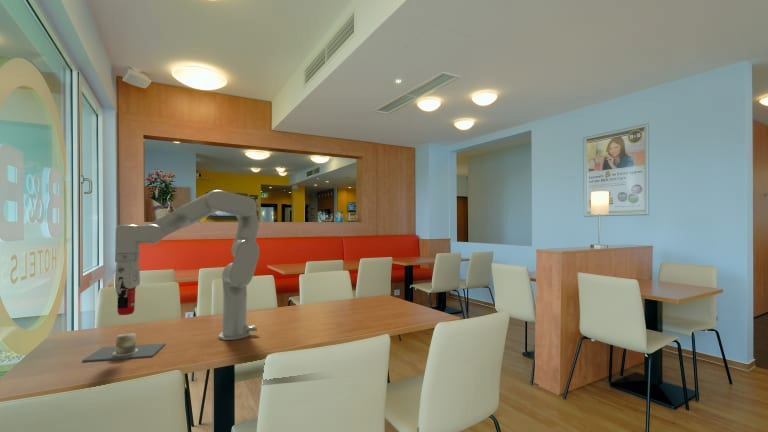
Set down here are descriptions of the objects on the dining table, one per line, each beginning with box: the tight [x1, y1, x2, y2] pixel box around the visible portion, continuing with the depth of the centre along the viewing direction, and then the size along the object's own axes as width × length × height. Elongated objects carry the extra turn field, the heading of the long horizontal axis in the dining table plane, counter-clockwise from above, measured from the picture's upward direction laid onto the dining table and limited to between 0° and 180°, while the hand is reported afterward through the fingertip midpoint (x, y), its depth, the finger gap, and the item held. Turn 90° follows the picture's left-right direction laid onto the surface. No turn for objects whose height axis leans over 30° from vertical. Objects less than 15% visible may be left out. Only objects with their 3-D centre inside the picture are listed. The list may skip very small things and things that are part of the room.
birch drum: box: [115, 332, 137, 355], centre depth 137 cm, size 6×6×6 cm
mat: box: [81, 342, 166, 363], centre depth 138 cm, size 22×14×1 cm, turn 104°
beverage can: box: [117, 287, 136, 316], centre depth 137 cm, size 5×5×12 cm
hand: (126, 305), depth 137 cm, fingers closed on beverage can, 5 cm apart
